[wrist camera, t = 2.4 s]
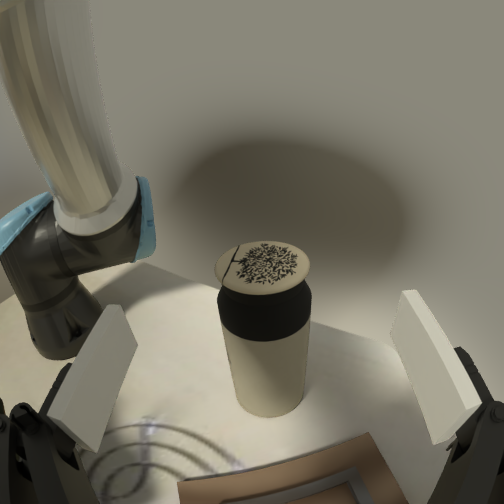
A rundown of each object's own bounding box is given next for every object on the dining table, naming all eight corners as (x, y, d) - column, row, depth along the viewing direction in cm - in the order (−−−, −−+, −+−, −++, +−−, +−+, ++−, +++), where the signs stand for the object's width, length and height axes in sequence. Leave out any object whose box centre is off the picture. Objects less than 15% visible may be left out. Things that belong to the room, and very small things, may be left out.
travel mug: (309, 372, 33) (319, 243, 24) (294, 425, 26) (303, 299, 18) (249, 360, 35) (234, 235, 27) (226, 409, 29) (192, 283, 20)
